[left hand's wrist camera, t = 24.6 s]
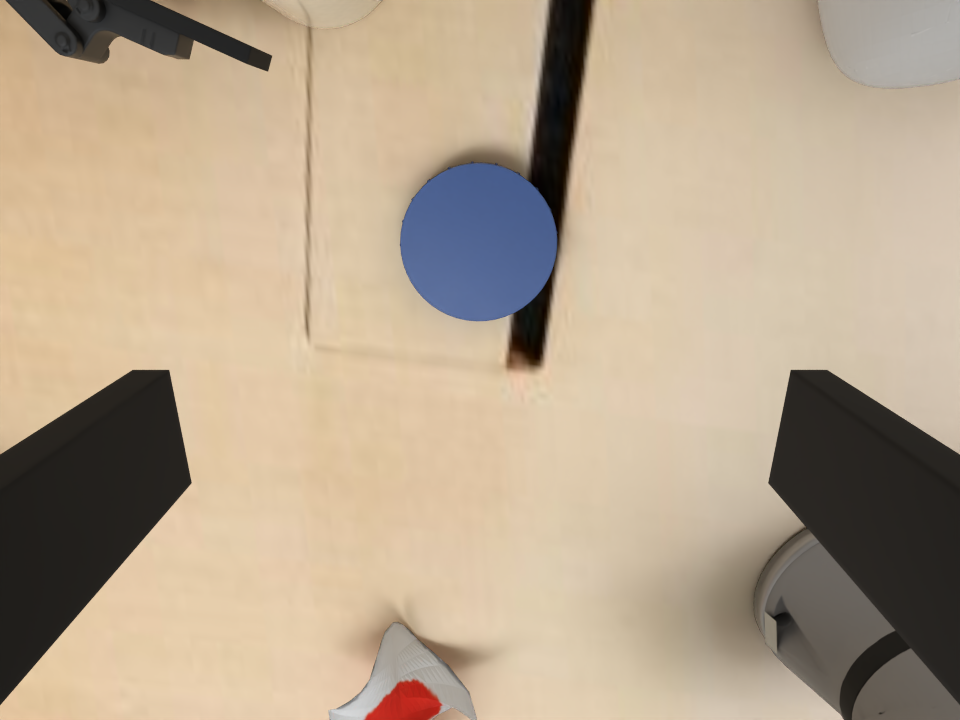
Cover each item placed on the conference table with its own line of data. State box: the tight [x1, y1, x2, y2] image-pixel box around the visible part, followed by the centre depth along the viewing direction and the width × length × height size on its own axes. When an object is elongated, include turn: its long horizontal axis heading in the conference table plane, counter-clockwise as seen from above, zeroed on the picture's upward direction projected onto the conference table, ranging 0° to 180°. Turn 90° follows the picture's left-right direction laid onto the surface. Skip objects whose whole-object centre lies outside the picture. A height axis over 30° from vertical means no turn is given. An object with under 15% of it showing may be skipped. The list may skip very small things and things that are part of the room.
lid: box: [400, 161, 557, 321], centre depth 35 cm, size 10×10×2 cm
